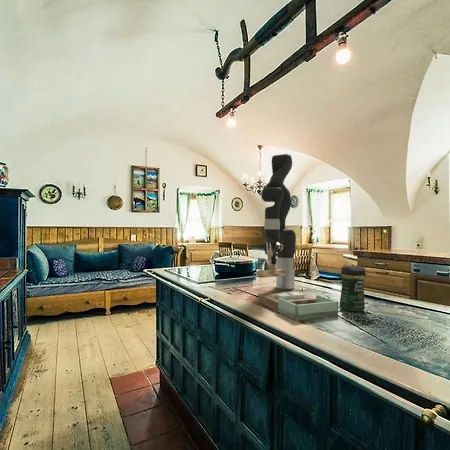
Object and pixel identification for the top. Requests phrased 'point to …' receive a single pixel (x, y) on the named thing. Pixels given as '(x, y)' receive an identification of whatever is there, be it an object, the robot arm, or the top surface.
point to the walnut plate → (272, 301)
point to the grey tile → (283, 296)
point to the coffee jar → (352, 288)
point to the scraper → (271, 269)
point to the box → (309, 308)
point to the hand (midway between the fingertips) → (271, 263)
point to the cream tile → (296, 295)
